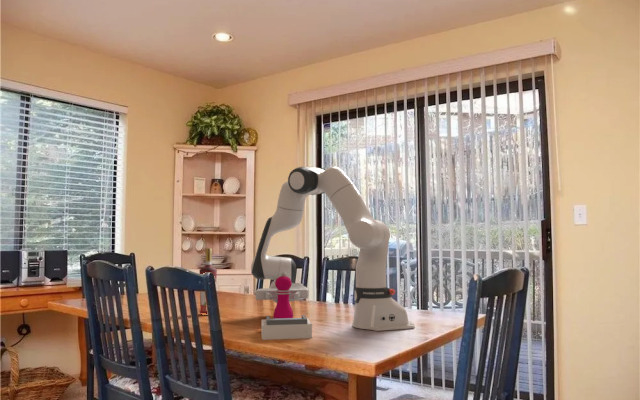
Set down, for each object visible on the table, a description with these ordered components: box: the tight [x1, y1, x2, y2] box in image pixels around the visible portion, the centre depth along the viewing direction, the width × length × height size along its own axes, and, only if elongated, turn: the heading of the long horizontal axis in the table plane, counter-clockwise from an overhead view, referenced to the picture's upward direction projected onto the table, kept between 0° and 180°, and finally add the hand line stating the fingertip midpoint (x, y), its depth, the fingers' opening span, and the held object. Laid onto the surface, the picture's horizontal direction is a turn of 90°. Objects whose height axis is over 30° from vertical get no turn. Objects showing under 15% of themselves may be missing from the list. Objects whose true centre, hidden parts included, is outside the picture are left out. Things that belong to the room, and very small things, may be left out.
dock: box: [260, 314, 313, 341], centre depth 159 cm, size 16×14×6 cm
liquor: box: [198, 248, 218, 314], centre depth 203 cm, size 7×7×28 cm
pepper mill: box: [272, 272, 294, 319], centre depth 172 cm, size 7×7×20 cm
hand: (283, 296), depth 176 cm, fingers open, 8 cm apart
